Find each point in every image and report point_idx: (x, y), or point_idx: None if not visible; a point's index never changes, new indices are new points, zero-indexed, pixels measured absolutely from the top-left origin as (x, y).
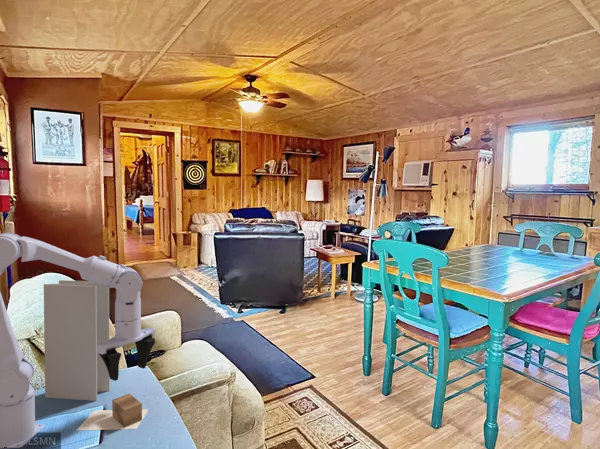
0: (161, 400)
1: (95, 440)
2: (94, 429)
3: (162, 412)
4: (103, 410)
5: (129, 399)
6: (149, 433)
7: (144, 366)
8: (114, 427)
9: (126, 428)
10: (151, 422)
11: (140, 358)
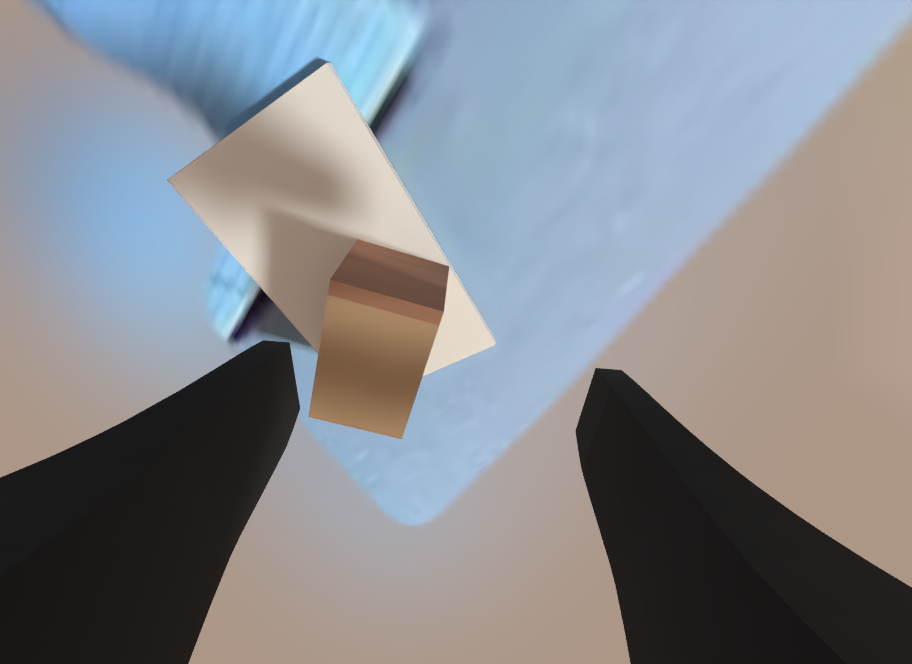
0: (607, 320)
1: (222, 312)
2: (238, 261)
3: (514, 391)
4: (363, 130)
5: (394, 362)
6: (380, 438)
7: (584, 453)
8: (309, 325)
9: None
10: (434, 402)
11: (621, 472)
